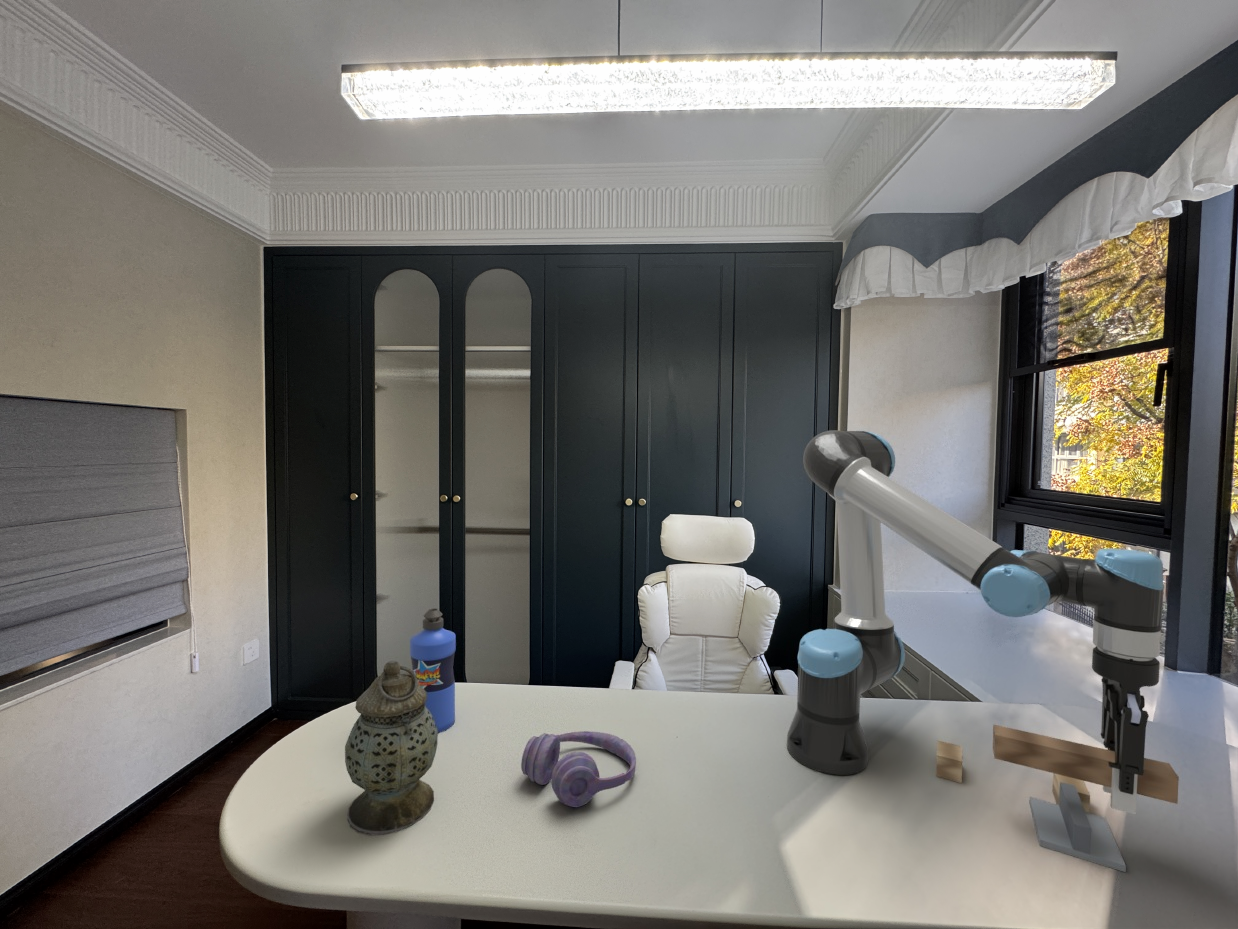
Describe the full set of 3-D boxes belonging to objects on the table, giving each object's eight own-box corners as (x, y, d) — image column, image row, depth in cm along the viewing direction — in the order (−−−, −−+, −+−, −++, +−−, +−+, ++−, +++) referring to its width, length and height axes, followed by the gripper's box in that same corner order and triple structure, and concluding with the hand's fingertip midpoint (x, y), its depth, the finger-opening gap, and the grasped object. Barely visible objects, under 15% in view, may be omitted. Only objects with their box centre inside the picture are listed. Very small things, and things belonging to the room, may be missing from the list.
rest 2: (1058, 810, 93) (1059, 787, 93) (1052, 791, 98) (1053, 769, 98) (1088, 819, 91) (1090, 795, 91) (1081, 798, 96) (1082, 776, 96)
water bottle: (447, 735, 114) (447, 617, 113) (403, 734, 114) (402, 616, 113) (461, 713, 123) (461, 603, 122) (419, 712, 123) (419, 602, 122)
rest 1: (936, 776, 102) (937, 755, 102) (936, 760, 107) (937, 740, 107) (961, 783, 100) (962, 761, 100) (960, 766, 105) (961, 746, 105)
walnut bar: (994, 758, 91) (995, 734, 91) (992, 747, 94) (993, 724, 94) (1177, 804, 79) (1178, 777, 79) (1167, 789, 83) (1169, 763, 83)
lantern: (441, 777, 100) (441, 642, 99) (431, 831, 86) (431, 675, 85) (358, 786, 97) (357, 647, 96) (334, 844, 83) (333, 683, 82)
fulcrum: (1039, 845, 85) (1041, 814, 84) (1029, 802, 95) (1030, 774, 95) (1125, 872, 80) (1127, 839, 79) (1104, 823, 90) (1106, 794, 90)
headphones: (573, 826, 87) (652, 789, 101) (579, 773, 87) (658, 743, 102) (506, 776, 99) (585, 749, 114) (512, 730, 100) (590, 709, 114)
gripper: (1180, 678, 74) (1171, 845, 75) (1141, 639, 89) (1134, 780, 90) (1107, 666, 78) (1100, 825, 79) (1081, 631, 93) (1075, 766, 94)
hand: (1118, 801), depth 84 cm, fingers closed on walnut bar, 4 cm apart
